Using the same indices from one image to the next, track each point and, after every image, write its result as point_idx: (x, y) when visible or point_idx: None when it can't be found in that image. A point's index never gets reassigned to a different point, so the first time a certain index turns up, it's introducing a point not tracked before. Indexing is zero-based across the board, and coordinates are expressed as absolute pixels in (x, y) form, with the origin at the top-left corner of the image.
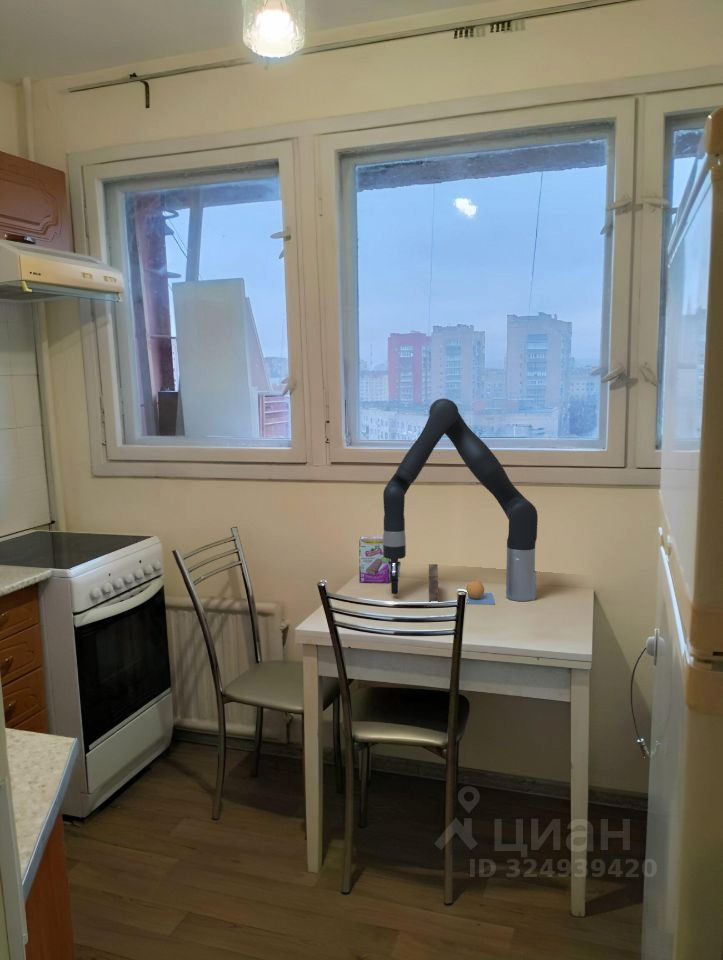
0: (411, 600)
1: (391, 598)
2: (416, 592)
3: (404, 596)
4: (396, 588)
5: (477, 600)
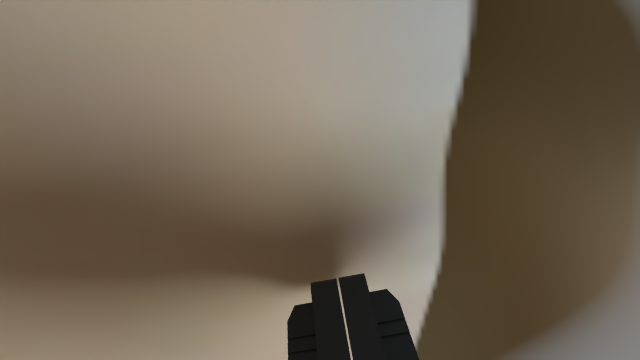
0: (416, 67)
1: (368, 284)
2: (22, 69)
3: (265, 183)
4: (398, 335)
5: None
